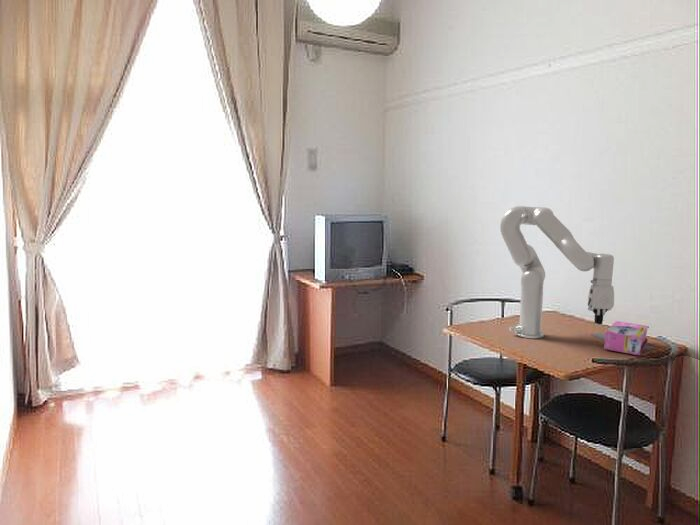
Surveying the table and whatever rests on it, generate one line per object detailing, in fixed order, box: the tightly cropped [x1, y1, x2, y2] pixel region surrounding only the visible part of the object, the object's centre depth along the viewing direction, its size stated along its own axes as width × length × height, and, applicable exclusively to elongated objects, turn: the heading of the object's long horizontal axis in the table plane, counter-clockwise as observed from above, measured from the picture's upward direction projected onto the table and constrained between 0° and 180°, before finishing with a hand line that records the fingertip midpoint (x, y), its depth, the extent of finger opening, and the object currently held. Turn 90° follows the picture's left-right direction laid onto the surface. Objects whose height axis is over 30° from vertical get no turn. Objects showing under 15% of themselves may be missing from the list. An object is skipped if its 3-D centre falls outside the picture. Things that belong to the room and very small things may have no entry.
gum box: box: [603, 320, 650, 356], centre depth 235 cm, size 24×8×14 cm
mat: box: [590, 332, 656, 351], centre depth 243 cm, size 14×24×1 cm, turn 10°
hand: (598, 323), depth 240 cm, fingers closed
